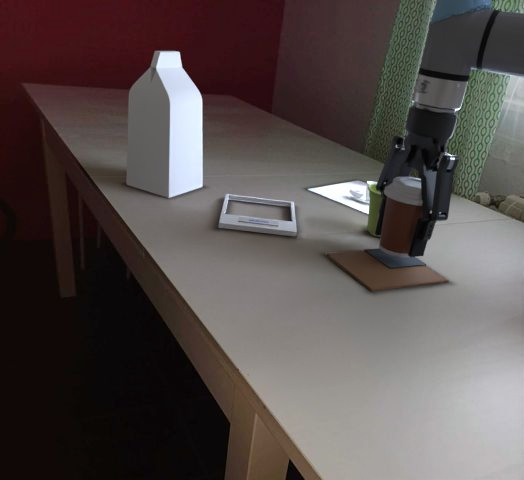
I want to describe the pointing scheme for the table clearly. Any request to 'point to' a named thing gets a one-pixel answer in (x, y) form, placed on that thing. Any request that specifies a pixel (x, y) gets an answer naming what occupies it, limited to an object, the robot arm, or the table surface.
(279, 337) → the table surface
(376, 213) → the plant pot
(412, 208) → the coffee cup
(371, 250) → the placemat
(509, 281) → the table surface
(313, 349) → the table surface
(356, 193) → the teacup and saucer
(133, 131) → the milk
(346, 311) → the table surface
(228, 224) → the photo frame
